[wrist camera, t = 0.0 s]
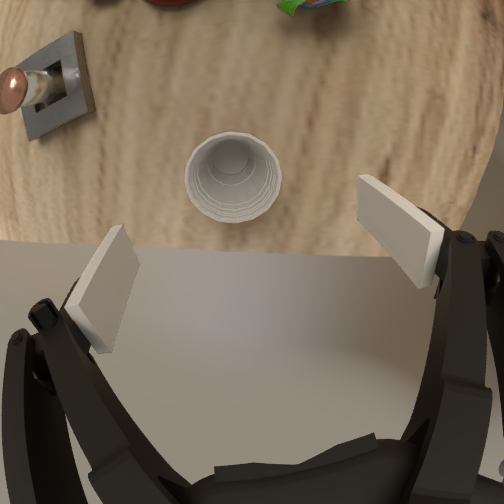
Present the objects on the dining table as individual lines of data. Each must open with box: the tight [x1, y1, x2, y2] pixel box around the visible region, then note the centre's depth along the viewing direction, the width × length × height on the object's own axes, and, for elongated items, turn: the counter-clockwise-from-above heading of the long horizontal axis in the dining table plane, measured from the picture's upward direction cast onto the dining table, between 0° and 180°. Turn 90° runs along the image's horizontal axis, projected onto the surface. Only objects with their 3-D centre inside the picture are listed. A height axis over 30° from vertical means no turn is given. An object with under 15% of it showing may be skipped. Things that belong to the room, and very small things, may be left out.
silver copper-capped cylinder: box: [0, 67, 66, 114], centre depth 23 cm, size 6×6×13 cm
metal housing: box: [16, 31, 96, 141], centre depth 28 cm, size 14×12×3 cm
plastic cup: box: [184, 131, 282, 223], centre depth 35 cm, size 11×11×12 cm
